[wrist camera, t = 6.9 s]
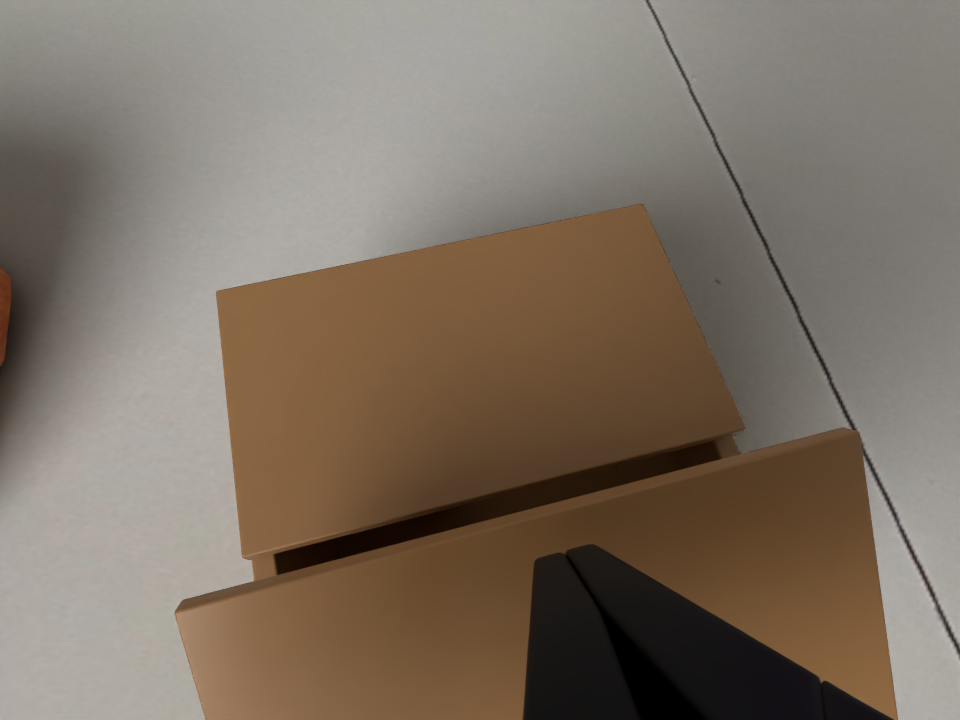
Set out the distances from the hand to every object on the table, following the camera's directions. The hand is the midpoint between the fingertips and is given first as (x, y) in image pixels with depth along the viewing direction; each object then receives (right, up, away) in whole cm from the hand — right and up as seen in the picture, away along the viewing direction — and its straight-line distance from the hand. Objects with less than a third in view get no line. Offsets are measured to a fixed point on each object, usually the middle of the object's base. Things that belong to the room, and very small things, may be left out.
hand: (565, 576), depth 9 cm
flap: (0, -3, +2) cm, 3 cm away
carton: (-1, -4, +13) cm, 13 cm away
